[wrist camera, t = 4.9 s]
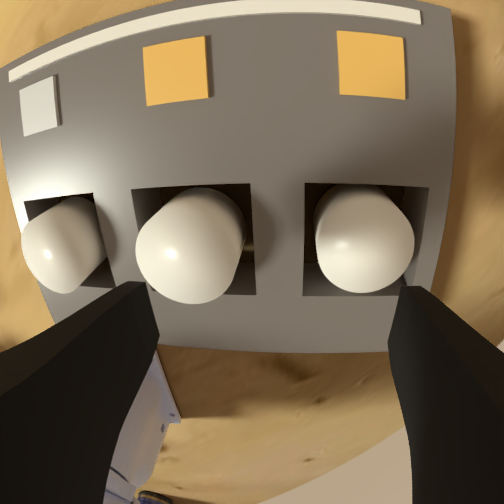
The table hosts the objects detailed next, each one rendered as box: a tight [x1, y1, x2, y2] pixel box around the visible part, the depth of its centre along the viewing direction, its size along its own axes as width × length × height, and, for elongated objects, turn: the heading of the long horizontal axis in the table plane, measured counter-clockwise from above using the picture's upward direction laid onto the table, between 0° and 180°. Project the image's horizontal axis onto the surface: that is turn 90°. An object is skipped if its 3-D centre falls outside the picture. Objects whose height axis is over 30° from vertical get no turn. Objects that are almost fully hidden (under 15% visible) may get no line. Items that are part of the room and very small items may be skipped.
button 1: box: [313, 183, 414, 293], centre depth 13 cm, size 4×4×3 cm
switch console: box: [0, 0, 456, 353], centre depth 14 cm, size 16×21×3 cm
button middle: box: [135, 187, 246, 304], centre depth 13 cm, size 4×4×3 cm
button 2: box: [21, 197, 107, 294], centre depth 14 cm, size 4×4×3 cm
